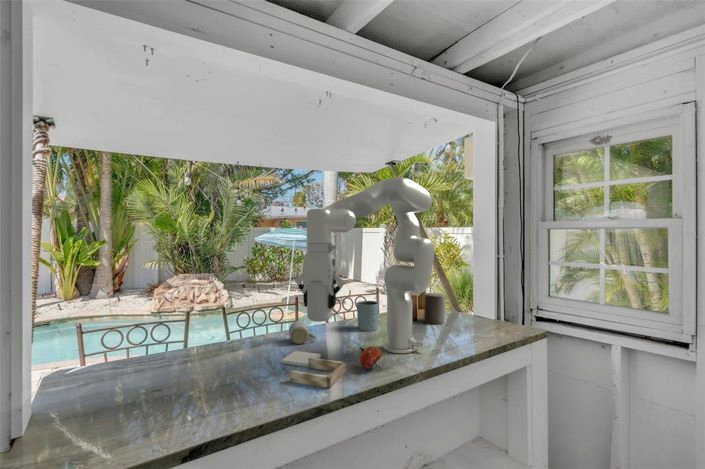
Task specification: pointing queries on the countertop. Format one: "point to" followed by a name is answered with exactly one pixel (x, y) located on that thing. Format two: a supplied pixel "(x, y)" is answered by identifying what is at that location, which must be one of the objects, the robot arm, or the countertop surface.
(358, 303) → the teal cup
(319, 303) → the can
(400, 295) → the robot arm
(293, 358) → the tile
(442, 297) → the pillar candle
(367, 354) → the red tomato
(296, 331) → the ceramic mug
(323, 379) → the open wooden frame
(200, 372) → the countertop surface
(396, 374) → the countertop surface
